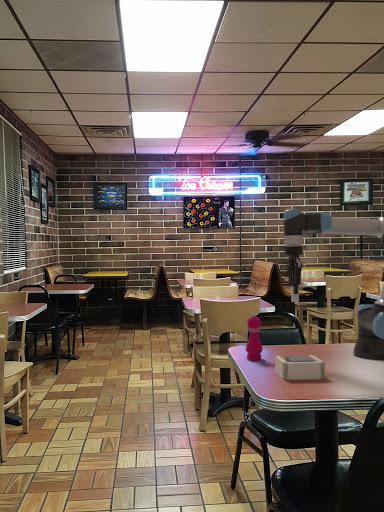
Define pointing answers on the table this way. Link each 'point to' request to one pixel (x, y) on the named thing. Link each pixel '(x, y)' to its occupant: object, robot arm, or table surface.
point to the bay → (300, 369)
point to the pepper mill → (254, 339)
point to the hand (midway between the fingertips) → (295, 301)
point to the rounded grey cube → (298, 359)
